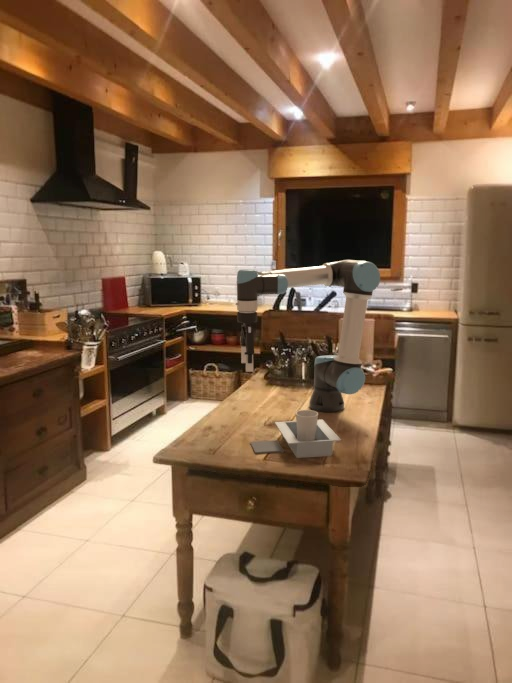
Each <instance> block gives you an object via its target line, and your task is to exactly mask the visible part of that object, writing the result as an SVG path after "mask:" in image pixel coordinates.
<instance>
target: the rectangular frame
mask: <svg viewBox="0 0 512 683" xmlns="http://www.w3.org/2000/svg"><path fill="white" fill-rule="evenodd" d="M274 425H275V426H276V427H277V429H278V430H279V432H280V434H281V436H282V437H283V439H284V440H285V443H286V444H287V445H288V447H289V448H290V449H291V451H292V453H293V454H294V456H295V457H296V459H302V458H317V457H319V458H320V457H331V456H333V449H334V448H333V447H334V446H333V445H334V444H333V443H334V442H342V439H341V438H340V437H339V436H338V435H337V434H336V433H335V431H334V430H333V429H332V428H331V427H330V426H329V425H328V424H327V422H326V421H325V420H324V419H318V420H317V427H316V437H315V441H301V442H299V441H298V440H297V422H296V420H291V421H290V420H289V421H275V422H274Z"/></svg>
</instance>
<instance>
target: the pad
mask: <svg viewBox="0 0 512 683" xmlns="http://www.w3.org/2000/svg"><path fill="white" fill-rule="evenodd" d="M250 445H251V448H252V449H253V452H254V454H255V455H261V454H274V453H284V448H283V447H282V445H281V444H280V442H279V440H277V439H275V440H274V439H273V440H260V441H259V440H256V441H250Z"/></svg>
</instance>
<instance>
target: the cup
mask: <svg viewBox="0 0 512 683" xmlns="http://www.w3.org/2000/svg"><path fill="white" fill-rule="evenodd" d="M318 418H319V412H318V411H316V410H313V409H312V410H311V409H301V410H297V411H296V412H295V421H296V422H297V436H296V438H297V440H298V441H299V442H301V441H316V438H315V437H316V427H317V420H319V419H318Z"/></svg>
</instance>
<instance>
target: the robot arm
mask: <svg viewBox="0 0 512 683" xmlns="http://www.w3.org/2000/svg"><path fill="white" fill-rule="evenodd" d="M236 274H237V275H236V299H237V300H236V302H235V303H234V304H235V306H237V307H236V310H237V313H236V321H237V323H240V324H241V332H240V340H239V341H240V345H241V346H240V348H241V349H240V350H241V351H240V358H241V359H240V360H241V361H240V362H241V364H245V372H246V373H247V372H250V373H253V372H254V354H255V346H254V345H255V344H254V327H253V326H252V324H254V323H257V322H258V296H261V295H264V296H265V295H268V296H269V295H277V296H278V295H284V294H286V292H287V291H288V289H290V288H291V289H292V288H300V287H309V286H310V287H311V286H319V285H324V286H325V287H333V286H334V287H340V288H343V289H342V290H343V291H342V293H343V294H344V296H345V302H344V303H345V304H344V311H343V318H342V324H341V325H342V326H341V331H340V337H339V344H338V345H339V346H338V352H337V353H338V354H337V355H335V354H333V355H332V354H329V355H327V354H326V355H320V356H319V355H318V356H316V357H315V358H314V364H313V368H314V369H313V370H314V371H313V374H314V375H313V377H314V378H313V382H314V383H313V391H312V394H311V396H310V399H309V403H308V404H309V409H310V410H311V409H312V411H316V412H321V413H323V412H324V413H334V412H335V413H336V412H340V411H342V410H344V408H345V401H344V398H343V394H345V395H354V394H356V393H358V392H359V391H360V390H361V389H363V387H364V385H365V382H366V375H365V373H364V371H363V370H362V364H363V362H362V360H361V359H360V353H361V345H362V340H363V333H364V326H365V319H366V313H367V307H368V300H369V299H370V298H372V296H373V292H374V291H375V290H376V288H377V287H378V286H379V285H380V282H381V273H380V270H379V268H378V267H377V265H376V264H375V263H373V262H372V261H366V260H355V259H343V260H339V261H338V260H337V261H332V262H325V263H323V264H322V265H319V266H318V265H317V266H307V267H297V268H288V269H276V270H268V271H266V270H265V271H258V270H257V269H248V268H247V269H239V270H238V271H237V272H236Z"/></svg>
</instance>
